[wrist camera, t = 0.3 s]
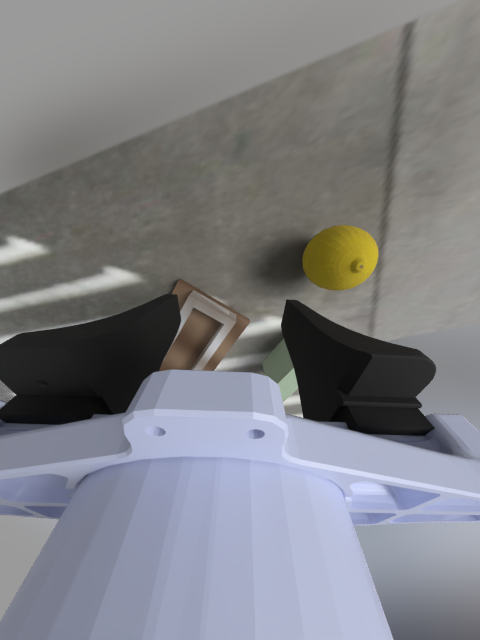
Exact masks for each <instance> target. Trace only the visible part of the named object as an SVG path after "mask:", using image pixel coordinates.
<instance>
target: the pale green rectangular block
mask: <svg viewBox="0 0 480 640" xmlns="http://www.w3.org/2000/svg"><path fill="white" fill-rule="evenodd" d="M262 364H263V371H264V375H265V376H268V377H269V378H271V379H272V380H273V381H274V382H276V383H277V384H278V385H279V387H280V392H281V397H282V401H283V402H284V401H285V400H286V399H287V398H288V397H289V396H290V395H291V394H293V393H294V392H295V391H296V390H297V389H298V384H297V380H296V375H295V371H294V367H293V364H292V361H291V358H290V355H289V352H288V349H287V347H286V344H285V341H284V338H283V339H282V340H281V342H280V343H279V344H278V345H277V346H276V347H275V348H274V349H273V351H272V352H271V353H270V354H269V355H268V356H267V357H266V358H265V360H264V361H263V362H262Z"/></svg>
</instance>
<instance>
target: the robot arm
mask: <svg viewBox="0 0 480 640" xmlns="http://www.w3.org/2000/svg"><path fill="white" fill-rule="evenodd" d="M180 324H181V315H180V309H179V302H178V296H177V294H166V295H163V296H161V297H158V298H156V299H154V300H152V301H150V302H147V303H145V304H143V305H141V306H138V307H136V308H134V309H131V310H129V311H126V312H123V313H121V314H118V315H114V316H111V317H108V318H104V319H100V320H96V321H93V322H89V323H84V324H79V325H74V326H69V327H63V328H57V329H50V330H43V331H35V332H27V333H21V334H18V335H16V336H14V337H12V338H11V339H9V340H7V341H5V342H4V343H2V344H0V380H1V381H2V382H3V383H4V384H5V385H6V386H7V387H9V388H10V389H11V390H12V391H13V392H14V393H15V394H16V396H15V397H14V398H12V399H11V400H10V401H9V402H6V401H3V400H0V515H12V516H24V517H37V518H49V519H59V521H58V523H57V524H56V526H55V528H54V529H53V531H52V533H51V535H50V536H49V538H48V540H47V542H46V543H45V545H44V547H43V548H42V550H41V552H40V554H39V556H38V557H37V559H36V561H35V562H34V564H33V566H32V567H31V569H30V571H29V573H28V574H27V576H26V578H25V580H24V581H23V583H22V585H21V586H20V588H19V590H18V592H17V593H16V595H15V597H14V599H13V600H12V602H11V604H10V606H9V607H8V609H7V611H6V612H5V614H4V616H3V617H2V619H1V621H0V640H393V637H392V634H391V632H390V629H389V626H388V623H387V620H386V617H385V615H384V611H383V609H382V606H381V603H380V600H379V597H378V594H377V591H376V589H375V586H374V583H373V580H372V577H371V575H370V571H369V569H368V566H367V563H366V560H365V557H364V554H363V551H362V549H361V546H360V543H359V540H358V537H357V534H356V532H355V529H354V526H359V525H380V524H401V523H428V522H480V432H479V431H478V430H477V429H476V428H475V427H474V426H473V425H471V424H470V422H468V421H467V420H466V419H465V418H464V417H463V416H462V415H458V414H430V415H427V416H424V415H423V414H422V413H421V412H420V410H419V409H418V408H421V407H422V404H421V403H420V402H419V401H418V400H417V399H416V396H417V395H418V394H419V393H420V392H421V391H422V390H423V389H424V388H425V387H426V386H427V385H428V384H429V383H430V382H431V380H432V379H433V378H434V375H435V372H436V366H435V364H434V363H433V361H432V360H430V359H429V358H428V357H427V356H426V355H424V354H423V353H422V352H421V351H419V350H417V349H413V348H408V347H404V346H401V345H396V344H392V343H388V342H385V341H381V340H378V339H375V338H371V337H368V336H365V335H363V334H360V333H357V332H354V331H352V330H349V329H347V328H345V327H343V326H340V325H338V324H336V323H334V322H332V321H330V320H328V319H327V318H325V317H323V316H321V315H320V314H318V313H316V312H315V311H313V310H312V309H310V308H309V307H307V306H305V305H304V304H302V303H301V302H299V301H297V300H286V305H285V309H284V314H283V319H282V323H281V327H282V333H283V338H284V341H285V344H286V347H287V349H288V352H289V355H290V358H291V361H292V364H293V367H294V371H295V375H296V380H297V384H298V389H299V394H300V400H301V406H302V412H303V418H301V417H297V416H293V415H289V414H285V411H284V406H283V401H282V397H281V392H280V387H279V385H278V384H277V383H276V382H274V381H273V380H272V379H271V378H269V377H268V376H265V375H260V374H256V373H251V372H229V371H203V370H177V369H172V370H165V371H159V370H160V367H161V365H162V362H163V360H164V358H165V356H166V354H167V352H168V350H169V348H170V347H171V345H172V343H173V341H174V339H175V337H176V335H177V333H178V330H179V327H180Z"/></svg>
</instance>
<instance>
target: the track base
mask: <svg viewBox="0 0 480 640" xmlns="http://www.w3.org/2000/svg"><path fill="white" fill-rule="evenodd" d="M172 294H177V296H178V302H179V309H180V315H181V324H180V327H179V330H178V333H177V335H176V337H175V339H174V341H173V343H172V345H171V347H170V348H169V350H168V352H167V354H166V356H165V358H164V360H163V362H162V365H161V367H160V370H159V371H165V370H172V369H177V370H203V371H214V369H215V368H216V367H217V365H218V364H219V363H220V361H221V360H222V359H223V357H224V356H225V355H226V353H227V352H228V351H229V349H230V348H231V347H232V345H233V344H234V343H235V341H236V340H237V339H238V337H239V336H240V335H241V333H242V332H243V331H244V329H245V328H246V327H247V326H248V324H249V323H250V321H249V319H248V318H246V317H245V316H243V315H241V314H239V313H238V312H236V311H234V310H233V309H231V308H229V307H228V306H226V305H224V304H222V303H221V302H219V301H217V300H216V299H214V298H212V297H211V296H209V295H207V294H206V293H204V292H202V291H200V290H199V289H197V288H195V287H194V286H192V285H190V284H189V283H187V282H185V281H183V280H182V279H180V280H178V282H177V284H176V286H175V288H174V290H173V292H172Z"/></svg>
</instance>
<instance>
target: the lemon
mask: <svg viewBox="0 0 480 640" xmlns="http://www.w3.org/2000/svg"><path fill="white" fill-rule="evenodd" d="M377 260H378V247H377V245H376V242H375V240H374V239H373V238H372V237H371V236H370V234H368V233H367V232H365V231H364V230H362V229H360V228H357V227H353V226H348V225H342V226H333V227H330V228H328V229H325V230H323V231H321V232H320V233H318V234H317V235H315V236H314V237H313V238H312V239H311V241H310V242H309V243H308V245H307V246H306V248H305V251H304V254H303V260H302V263H303V269H304V272H305V274H306V276H307V277H308V278H309V279H310V281H311V282H313V283H314V284H316V285H317V286H319V287H321V288H324V289H328V290H346V289H350V288H353V287H355V286H357V285H359V284H361V283H362V282H363V281H365V280H366V279H367V278H368V277H369V276H370V275H371V273H372V272H373V270H374V269H375V266H376V264H377Z"/></svg>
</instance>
